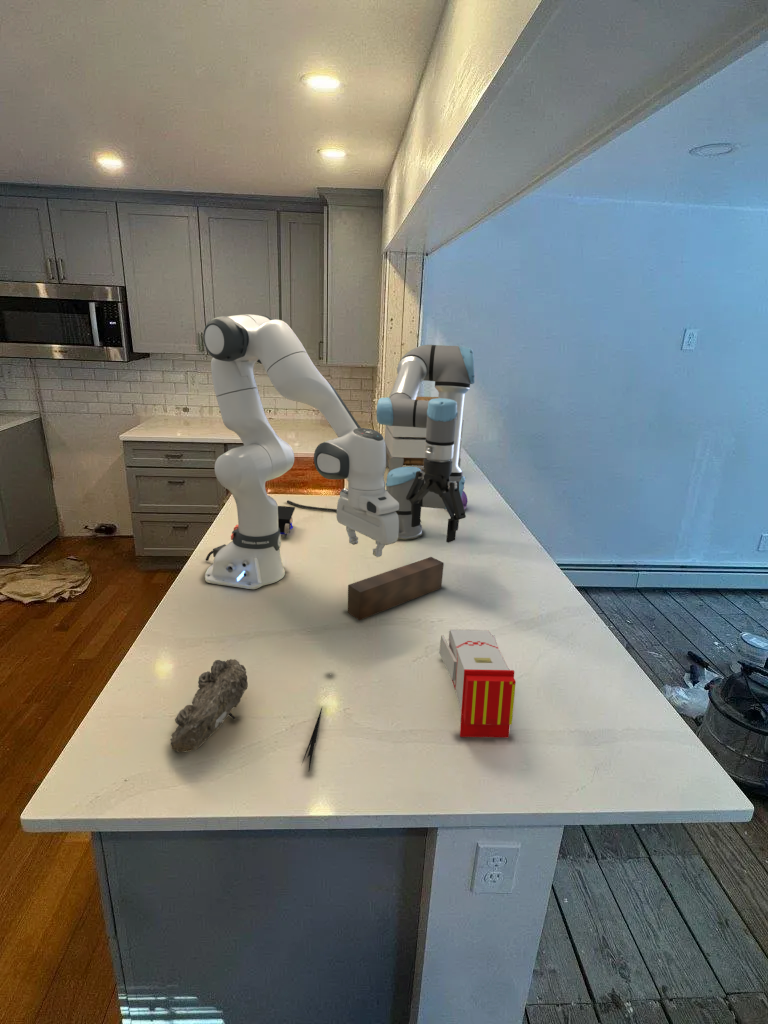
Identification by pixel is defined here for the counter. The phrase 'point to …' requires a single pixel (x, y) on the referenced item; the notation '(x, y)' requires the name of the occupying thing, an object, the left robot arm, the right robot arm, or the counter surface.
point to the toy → (479, 682)
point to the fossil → (210, 704)
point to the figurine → (464, 498)
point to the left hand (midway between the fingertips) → (365, 549)
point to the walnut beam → (394, 587)
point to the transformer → (407, 444)
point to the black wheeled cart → (285, 519)
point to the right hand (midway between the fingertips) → (432, 533)
